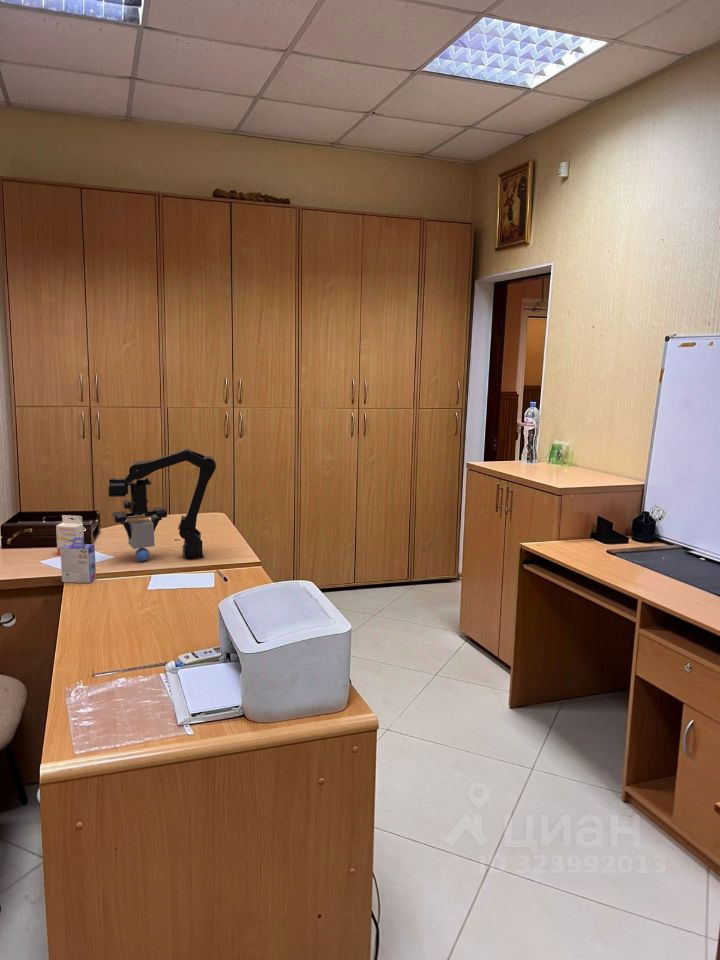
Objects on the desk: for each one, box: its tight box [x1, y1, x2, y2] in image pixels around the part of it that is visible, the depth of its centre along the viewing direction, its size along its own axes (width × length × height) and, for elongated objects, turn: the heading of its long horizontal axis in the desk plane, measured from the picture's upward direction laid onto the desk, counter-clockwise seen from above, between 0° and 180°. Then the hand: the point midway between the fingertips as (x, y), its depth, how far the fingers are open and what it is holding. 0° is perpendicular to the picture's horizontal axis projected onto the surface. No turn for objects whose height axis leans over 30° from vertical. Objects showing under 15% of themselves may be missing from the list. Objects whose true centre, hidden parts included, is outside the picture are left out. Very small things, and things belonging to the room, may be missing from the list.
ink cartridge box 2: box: [60, 538, 97, 584], centre depth 230 cm, size 10×6×14 cm, turn 89°
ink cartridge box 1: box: [55, 514, 85, 556], centre depth 258 cm, size 9×5×15 cm, turn 84°
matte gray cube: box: [127, 518, 156, 550], centre depth 253 cm, size 8×8×9 cm
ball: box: [135, 547, 150, 562], centre depth 253 cm, size 5×5×5 cm
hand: (140, 537), depth 254 cm, fingers closed on matte gray cube, 8 cm apart
